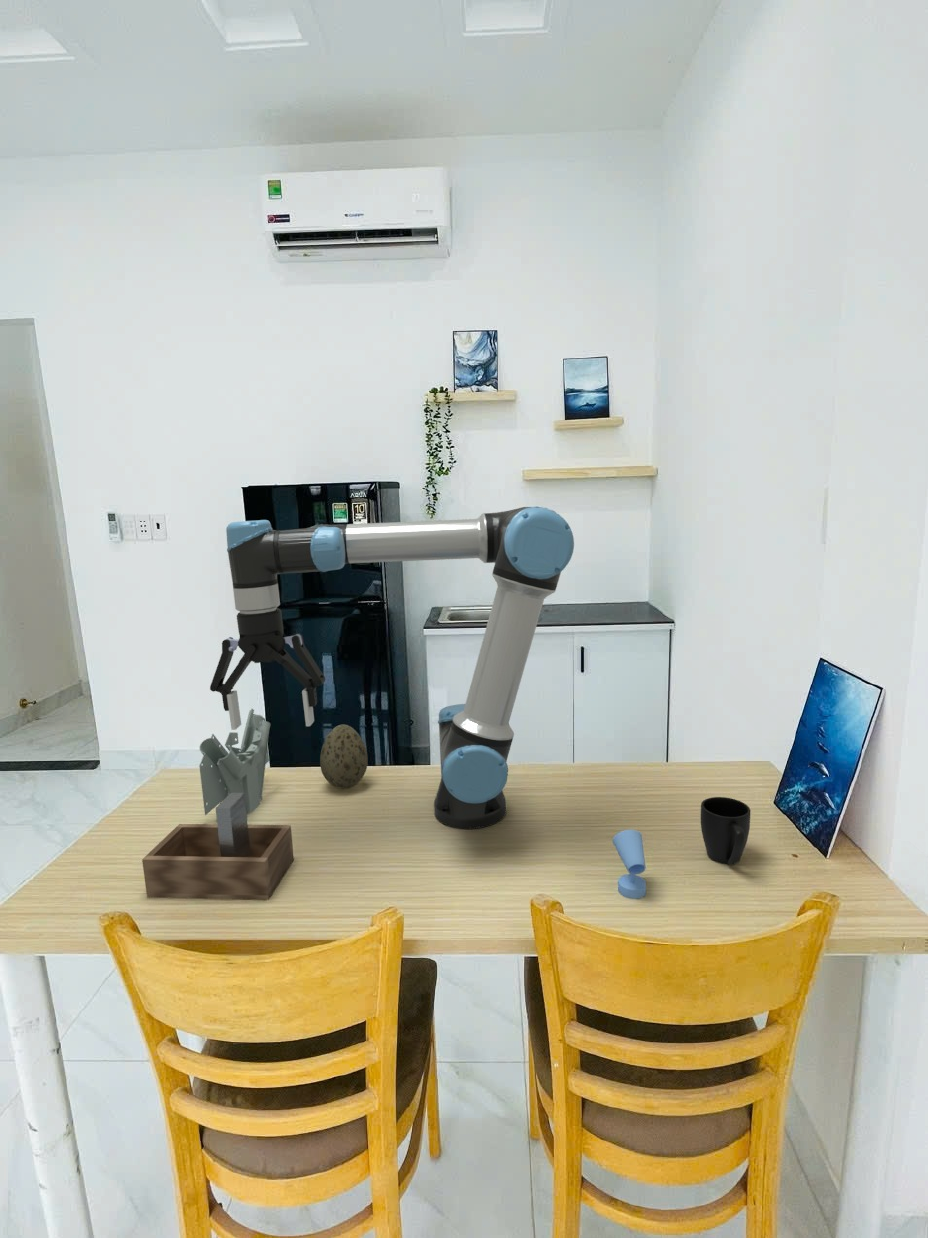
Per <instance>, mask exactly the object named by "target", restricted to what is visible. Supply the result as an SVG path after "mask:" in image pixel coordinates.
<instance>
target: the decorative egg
mask: <svg viewBox="0 0 928 1238" xmlns="http://www.w3.org/2000/svg"><path fill="white" fill-rule="evenodd" d="M319 757H320V758H319V764H320V765H319V766H320V770H321V773H322V775H323V777H324V779H325V780H326V782H328V783H329V784H330V785H331V786H333V787H334V788H337V789H342V790H344V789H350V788H352V787H354V786H356V785H357V784H358V783H359V782H360V781H361V780H362V779H363V777H364V775H365V774H366V772H367V769H368V768H367V767H368V761H369V760H368V751H367V747H366V746H365V741H364V740H363V739H362V737H361V736H360V734H359V733H358V732H357V730H356V729H354V727H352V726H351V725H348V724H343V723H342V724H339V725H337V726H335V727H334V728H332V729H331V731H330V732H329V733H328V734H327V736H326V738H325V740H324V741H323V744H322V747H321V751H320V756H319Z"/></svg>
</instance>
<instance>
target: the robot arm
mask: <svg viewBox="0 0 928 1238" xmlns="http://www.w3.org/2000/svg"><path fill="white" fill-rule="evenodd" d="M225 530H226V531H225V532H226V545H227V548H226V552H227V554H228V555H227V556H228V561H229V568H230V574H231V581H232V588H233V589H232V591H233V599H234V608H235V610H236V611H238V613H237V614H236V620H237V621H236V623H237V628H238V629H237V630H238V635H239V638H238V639H235V638H233V637H231V636H230V637H228V638H226V639H224V640H223V641H222V642H221V654H220V658H219V660H218V663H217V667H216V668H215V673H214V674H213V678H212V680H211V683H210V686H209V690H210V691H211V692H217V693H219V694H221V698H222V703H223V709H224V710H223V711H225V712H228V714H229V720H230V721H229V722H230V728H231V730H233V731H235V730H237V729H238V728H239V727H241V726H242V718H241V712H240V706H239V697H238V691H237V690H235V689H234V687H235V685H236V684H237V683H238V681H239V680H240V678H241V676H242V675H243V674H244V673H245V671H246V669H247V668H248V666H249V665H250V664H251V662H253V663H254V664H260V663H273V662H275V661H276V662H277V664H279V665H281V666H282V667H283V668H285V669H286V670H287V672H288V673H290V675H291V676H293V677H294V678H295V679H296V680H297V681H298V682H299V683H300V684H301V685H302V686H303V687H304V689H303V690H302V691H301V694H302V696H301V697H302V703H303V711H304V721H305V727H311V726H312V725H313V723H314V722H315V715H314V707H316V706H317V704H318V696H317V694H318V693H317V687H321V686H322V685H323V684H324V682H326V676H325V675H324V674H323V672H322V671H321V669H320V667H319V665H318V664H317V662H316V661H315V660H314V658H313V656H312V655H311V653H310V651H309V650H308V649H307V647H306V645H305V642H304V641H305V640H304V637H303V635H302V634H301V633H300V632H299V633H296V634H294V635H290V636H286V635H285V632H284V624H283V623H284V622H283V616H282V615H283V614H282V610H281V609H280V608H278V607H279V606H280V605H281V602H280V601H281V600H280V590H279V583H278V575H285V574H297V573H299V574H300V573H312V572H322V573H326V572H328V571H336V570H341V569H343V568H344V567H345V565H346V564H361V563H362V564H363V563H365V564H366V563H387V562H412V561H413V562H414V561H415V562H416V561H419V562H420V561H436V560H437V561H438V560H439V561H440V560H441V561H442V560H463V559H466V560H467V559H469V560H470V559H479V560H480V561H481V562H482V563H484V564H490V563H492V564H493V563H494V567H493V570H492V574H491V575H492V577H493V579H494V581H495V582H496V584H497V585H496V586H497V588H496V591H495V595H494V598H493V601H492V602H493V603H492V606H491V610H490V613H489V616H488V621H487V624H486V627H485V631H484V634H483V638H482V641H481V645H480V646H481V647H480V648H479V653H478V657H477V661H476V665H475V668H474V671H473V674H472V678H471V682H470V686H469V689H468V693H467V697H466V700H465V703H459V704H453V705H452V704H451V705H448V706H445V707H442V708H441V709H440V710H439V713H438V720H437V724H438V732H439V733H438V734H439V751H440V752H439V755H440V757H439V758H440V780H439V781H440V782H439V785H438V789H437V793H436V795H435V798H434V803H433V805H434V806H433V808H434V809H433V811H434V812H433V813H434V817H435V818H436V820H437V821H438V822H439V823H442V824H444V825H446V826H449V827H452V828H457V829H463V830H464V829H467V830H468V829H479V828H485V827H486V828H487V827H489V826H492V825H494V824H497V823H498V822H500V821H502V820H503V819H504V818H505V816H506V814H507V800H506V797H505V794H504V791H503V789H504V788H505V787H506V784H507V781H508V777H509V773H508V772H509V767H508V763H507V760H508V757H509V754H510V751H511V746H512V744H513V740H514V736H515V733H514V730H513V729H512V727H511V726H510V720H511V717H512V712H513V708H514V705H515V703H516V699H517V695H518V692H519V689H520V685H521V682H522V678H523V675H524V670H525V666H526V663H527V661H528V656H529V653H530V650H531V647H532V642H533V639H534V636H535V632H536V628H537V626H538V621H539V618H540V616H541V615H540V614H541V612H542V608H543V605H544V601H545V599H546V598H547V597H549V596H550V595H552V594H554V593H556V591H557V587H558V583H559V582H560V581H559V580H560V577H561V573H562V571H564V570H565V568H566V567H567V566H568V564H569V562H571V560H572V556H573V554H574V547H575V538H574V534H573V533H574V532H573V531H572V529H571V526H570V525H569V522H567V521H566V519H564V517H563V516H561V515H560V514H559V513H557V512H556V511H555V510H553V509H549V508H547V507H543V506H542V507H541V506H538V505H537V506H522V507H519V508H515V509H510V510H505V511H497V512H490V513H486V512H483V513H481V514H480V515H479V516H478V518H469V519H467V518H465V519H444V520H442V519H441V520H440V519H439V520H420V521H419V520H418V521H417V520H416V521H395V522H390V521H389V522H372V523H371V522H369V523H349V524H348V523H347V524H326V523H321V524H315V525H313V526H310V527H306V528H305V527H304V528H296V529H285V530H280V529H279V530H277V529H273V527H272V524H271V522H270V521H269V520H267V519H260V520H245V521H241V520H240V521H232V522H230V523H229V524H228V525H227V526H226V529H225ZM287 644H288V645H289V646H290V648H291V649H293V651H294V652H295V654H296V656H297V657H298V659H299V661H300V662H301V663H302V664H301V665H303V666H304V668H305V669H304V668H303V667H302V666H301V665H299V664H298V662H296V660H295V659H294V658H293V657H292V656H291V655H290V653H289V652H288V651H287V650H286V649H285V647H286V646H287ZM237 648H239V649H240V650H241V651H242V652H243V653H244V654H243V655H242V657H241V658H240V659H239V662H238V663H237V665H236V666H235V668H234V669H233V671H232V672H231V673H230V675H229V676H228V678H227V680H226V681H225V682H224V680H225V678H226V675H227V672H228V670H229V667H230V664H231V661H232V658H233V656H234V653H235V651H237ZM233 689H234V690H233Z"/></svg>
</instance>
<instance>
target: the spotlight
mask: <svg viewBox="0 0 928 1238" xmlns="http://www.w3.org/2000/svg"><path fill="white" fill-rule="evenodd" d="M612 843H613V846H614V848H615V850H616V851H617V853H618V856H619V857H620V859H621V861H622V863H623V865H624V867H625V868H626V870H627V873H628V874H622V875H621V876H620V877H619V878H618V879H617V892H618V893H619V894H620V895H621V896H622V897H624V898H627V899H630V900H631V899H632V900H638V899H641V898H643V897H645V896H646V894H647V883H646V880H645V879H644V878H643V877H641V876H640V874H643V873H644V872H645V871H646V869H647V868H646V858H645V852H644V843H643V836H642V833H641V832H640V831H639V830H636V829H625V830H622V831H620V832H618V833H616V834H615V835H614V836H613V838H612Z"/></svg>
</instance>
